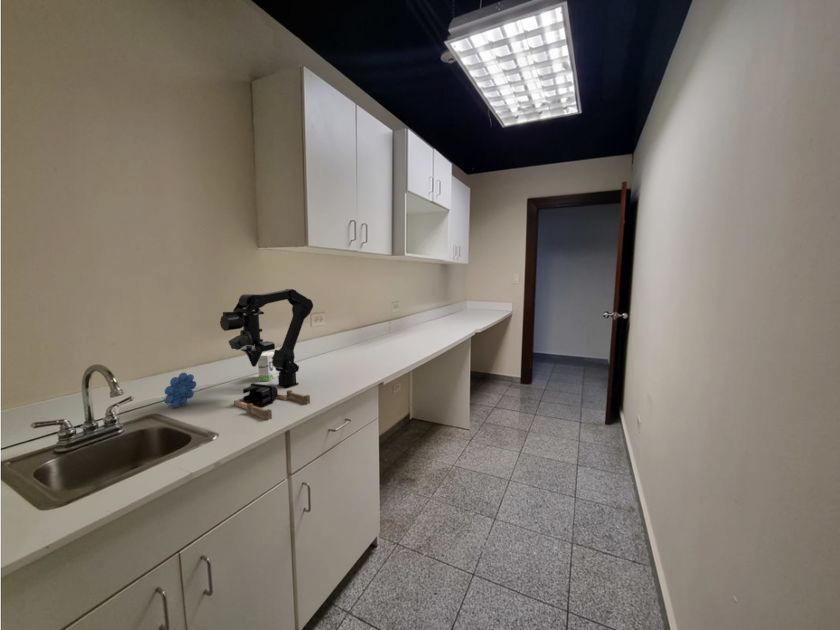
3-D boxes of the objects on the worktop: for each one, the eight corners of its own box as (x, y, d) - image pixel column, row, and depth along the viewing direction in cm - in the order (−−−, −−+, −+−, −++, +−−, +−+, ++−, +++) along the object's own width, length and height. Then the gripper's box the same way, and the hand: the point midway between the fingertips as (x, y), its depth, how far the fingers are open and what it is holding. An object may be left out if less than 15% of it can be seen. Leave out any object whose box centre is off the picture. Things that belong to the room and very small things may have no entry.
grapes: (189, 398, 133) (186, 368, 132) (201, 400, 131) (199, 370, 130) (157, 409, 122) (154, 377, 121) (171, 412, 120) (167, 378, 119)
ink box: (268, 381, 154) (267, 355, 153) (258, 381, 155) (257, 355, 154) (279, 375, 163) (277, 351, 161) (269, 375, 164) (268, 351, 162)
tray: (268, 393, 139) (267, 389, 138) (287, 399, 132) (287, 395, 132) (233, 404, 127) (233, 400, 127) (253, 411, 121) (253, 407, 120)
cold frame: (290, 397, 134) (289, 390, 134) (310, 403, 128) (309, 395, 128) (247, 412, 119) (247, 404, 119) (268, 420, 114) (267, 411, 113)
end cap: (278, 401, 131) (277, 383, 130) (264, 407, 124) (263, 389, 123) (257, 398, 134) (256, 381, 133) (242, 404, 127) (241, 386, 127)
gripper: (216, 328, 130) (219, 368, 132) (247, 332, 122) (251, 375, 123) (243, 324, 140) (246, 361, 142) (274, 327, 131) (277, 367, 133)
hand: (254, 366), depth 135 cm, fingers closed
